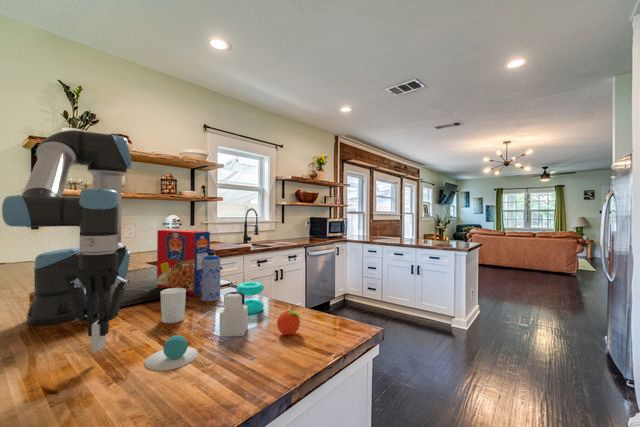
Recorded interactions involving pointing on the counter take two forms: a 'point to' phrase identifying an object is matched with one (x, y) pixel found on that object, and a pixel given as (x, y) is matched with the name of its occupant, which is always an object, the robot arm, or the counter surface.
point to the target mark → (170, 360)
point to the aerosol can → (210, 277)
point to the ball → (175, 347)
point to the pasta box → (181, 259)
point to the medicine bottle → (234, 315)
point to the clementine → (288, 322)
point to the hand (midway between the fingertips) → (98, 348)
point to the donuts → (251, 289)
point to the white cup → (173, 304)
